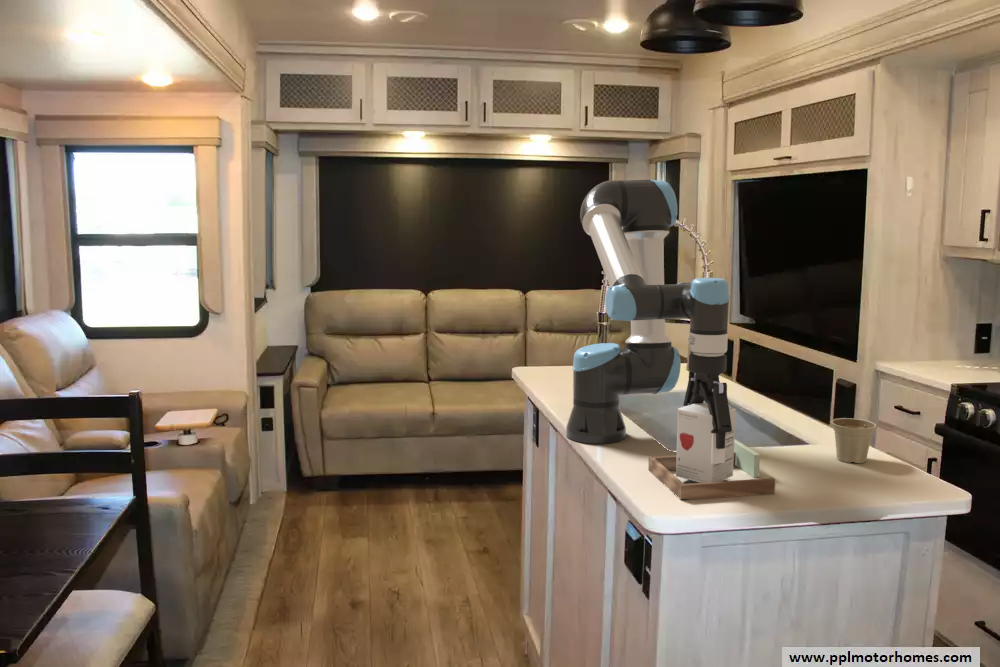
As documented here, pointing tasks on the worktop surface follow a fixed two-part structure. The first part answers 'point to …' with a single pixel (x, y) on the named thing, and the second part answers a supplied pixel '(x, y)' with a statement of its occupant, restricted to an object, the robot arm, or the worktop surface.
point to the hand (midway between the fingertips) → (705, 453)
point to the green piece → (746, 459)
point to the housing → (707, 489)
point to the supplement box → (701, 445)
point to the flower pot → (852, 439)
